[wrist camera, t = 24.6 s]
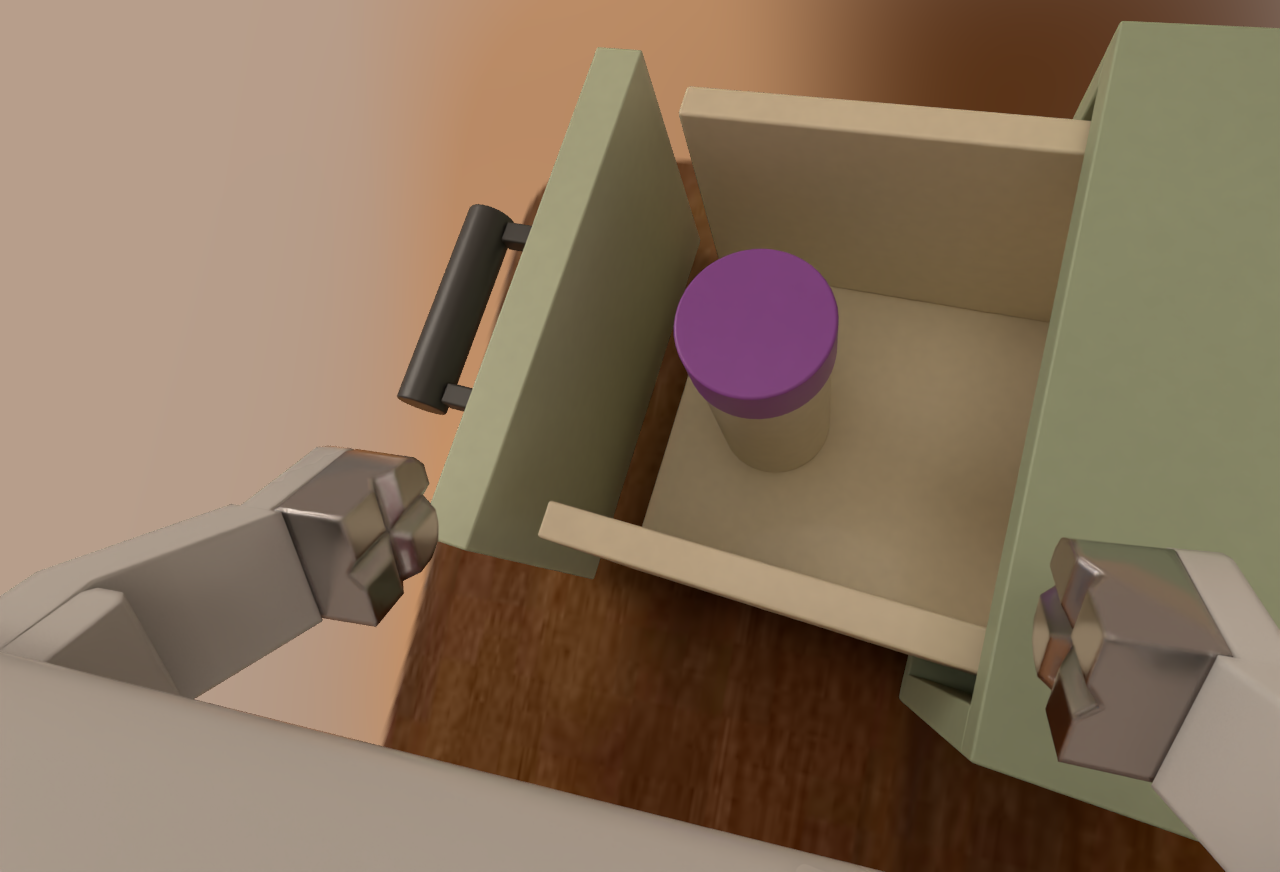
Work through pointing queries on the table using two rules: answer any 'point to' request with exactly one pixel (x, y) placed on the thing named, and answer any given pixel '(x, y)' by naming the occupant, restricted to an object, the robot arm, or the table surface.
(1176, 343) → the cabinet
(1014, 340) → the drawer
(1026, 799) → the table surface
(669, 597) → the table surface
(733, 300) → the glue stick
